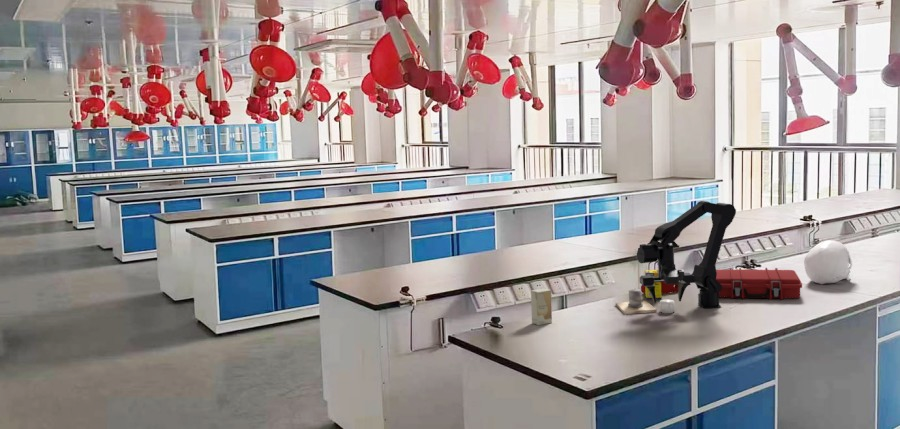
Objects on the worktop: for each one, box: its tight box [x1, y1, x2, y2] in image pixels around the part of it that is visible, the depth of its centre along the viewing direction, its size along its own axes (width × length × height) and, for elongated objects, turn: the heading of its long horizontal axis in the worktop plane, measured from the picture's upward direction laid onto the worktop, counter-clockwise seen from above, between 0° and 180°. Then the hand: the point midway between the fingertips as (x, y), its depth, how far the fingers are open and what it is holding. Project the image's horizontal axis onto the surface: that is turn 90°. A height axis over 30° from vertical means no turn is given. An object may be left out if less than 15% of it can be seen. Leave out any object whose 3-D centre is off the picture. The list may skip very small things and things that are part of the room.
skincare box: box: [530, 288, 553, 326], centre depth 266 cm, size 6×4×12 cm
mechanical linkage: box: [640, 279, 678, 294], centre depth 302 cm, size 16×7×5 cm, turn 109°
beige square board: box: [615, 288, 658, 315], centre depth 278 cm, size 12×14×7 cm
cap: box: [659, 299, 676, 314], centre depth 271 cm, size 5×5×4 cm
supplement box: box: [644, 269, 663, 301], centre depth 293 cm, size 6×6×11 cm
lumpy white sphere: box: [803, 239, 853, 285], centre depth 302 cm, size 16×20×22 cm
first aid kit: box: [716, 267, 803, 301], centre depth 290 cm, size 32×23×9 cm
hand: (667, 302), depth 271 cm, fingers open, 9 cm apart
